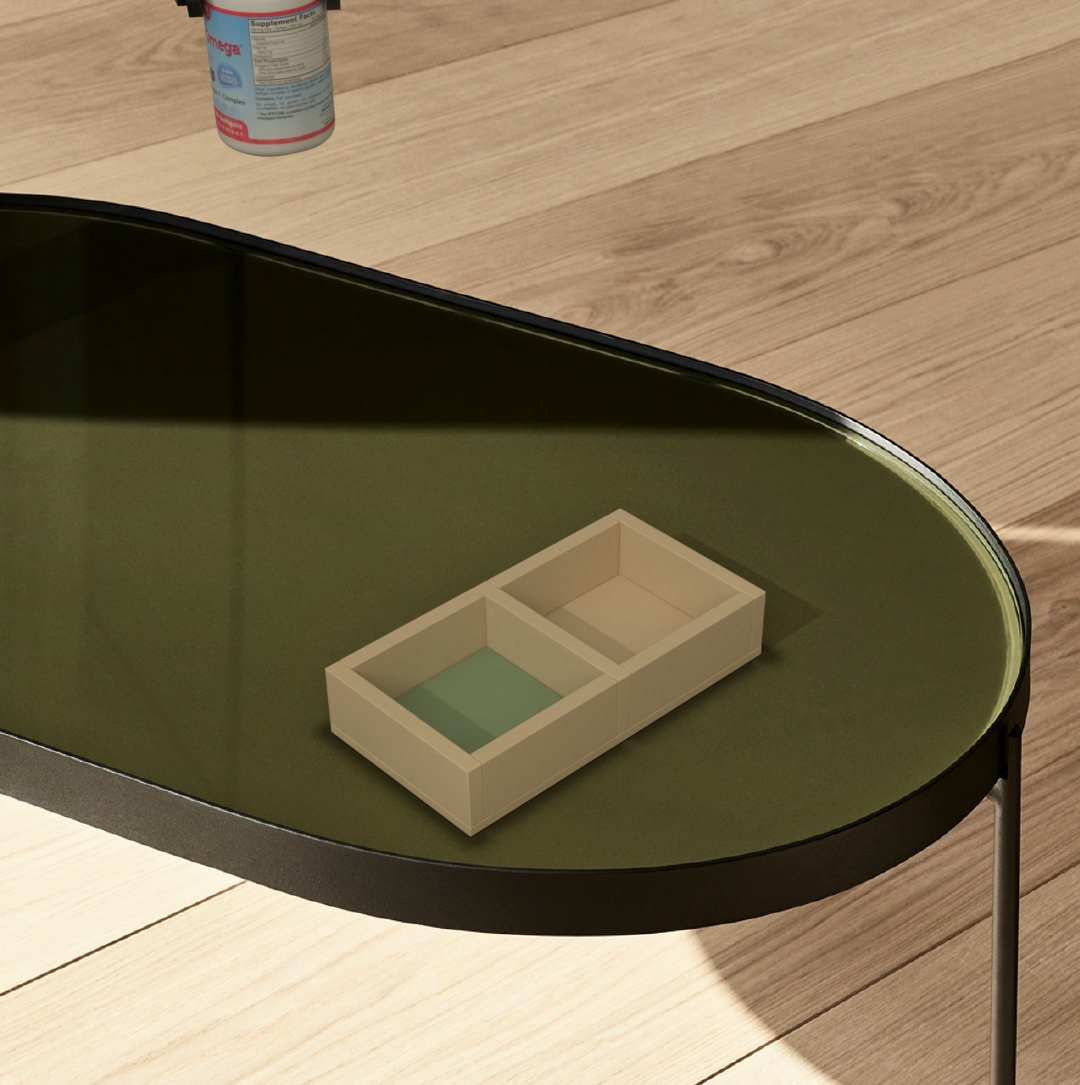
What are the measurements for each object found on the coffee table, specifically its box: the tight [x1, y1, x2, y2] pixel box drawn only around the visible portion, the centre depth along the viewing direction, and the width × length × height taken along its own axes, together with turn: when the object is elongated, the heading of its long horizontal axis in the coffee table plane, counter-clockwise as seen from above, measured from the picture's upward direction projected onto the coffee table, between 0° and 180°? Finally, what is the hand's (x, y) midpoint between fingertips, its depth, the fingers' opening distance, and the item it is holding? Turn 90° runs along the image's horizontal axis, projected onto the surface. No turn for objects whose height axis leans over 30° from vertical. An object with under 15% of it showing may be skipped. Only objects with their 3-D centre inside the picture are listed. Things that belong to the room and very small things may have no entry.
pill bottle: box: [202, 0, 336, 158], centre depth 97 cm, size 6×6×11 cm
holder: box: [324, 508, 767, 837], centre depth 85 cm, size 17×9×4 cm, turn 133°
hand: (264, 6), depth 95 cm, fingers closed on pill bottle, 6 cm apart
